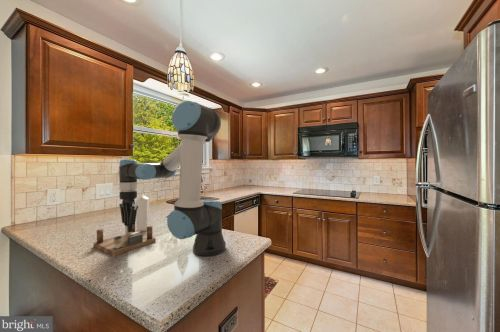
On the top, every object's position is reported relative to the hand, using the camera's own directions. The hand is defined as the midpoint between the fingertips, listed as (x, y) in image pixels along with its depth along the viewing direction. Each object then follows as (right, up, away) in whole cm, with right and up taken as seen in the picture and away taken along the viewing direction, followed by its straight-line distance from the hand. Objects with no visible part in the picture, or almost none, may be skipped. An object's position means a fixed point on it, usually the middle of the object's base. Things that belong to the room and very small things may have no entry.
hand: (128, 238), depth 104 cm
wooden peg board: (-3, -4, +2) cm, 5 cm away
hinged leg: (+2, -1, -4) cm, 4 cm away
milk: (-6, -4, +26) cm, 27 cm away
